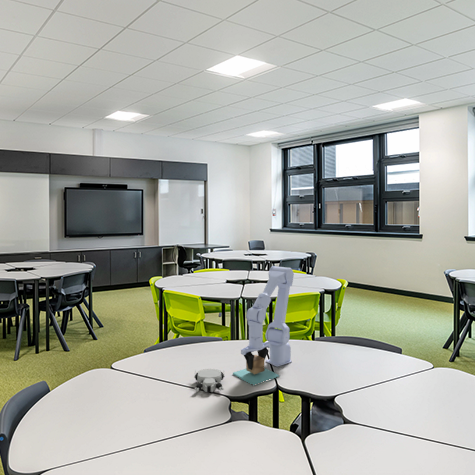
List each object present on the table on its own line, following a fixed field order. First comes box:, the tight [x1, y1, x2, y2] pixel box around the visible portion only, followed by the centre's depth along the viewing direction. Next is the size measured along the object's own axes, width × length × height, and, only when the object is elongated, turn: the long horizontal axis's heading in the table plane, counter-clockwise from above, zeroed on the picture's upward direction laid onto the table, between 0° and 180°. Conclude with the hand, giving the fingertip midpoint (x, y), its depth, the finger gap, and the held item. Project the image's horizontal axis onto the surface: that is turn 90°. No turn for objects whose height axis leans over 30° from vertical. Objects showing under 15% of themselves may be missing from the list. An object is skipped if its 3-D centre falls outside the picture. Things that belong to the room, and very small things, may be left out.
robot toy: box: [193, 368, 226, 393], centre depth 167 cm, size 12×4×15 cm
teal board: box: [232, 367, 280, 386], centre depth 177 cm, size 14×14×1 cm
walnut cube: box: [245, 354, 266, 374], centre depth 176 cm, size 6×6×6 cm
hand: (255, 367), depth 176 cm, fingers closed on walnut cube, 5 cm apart
